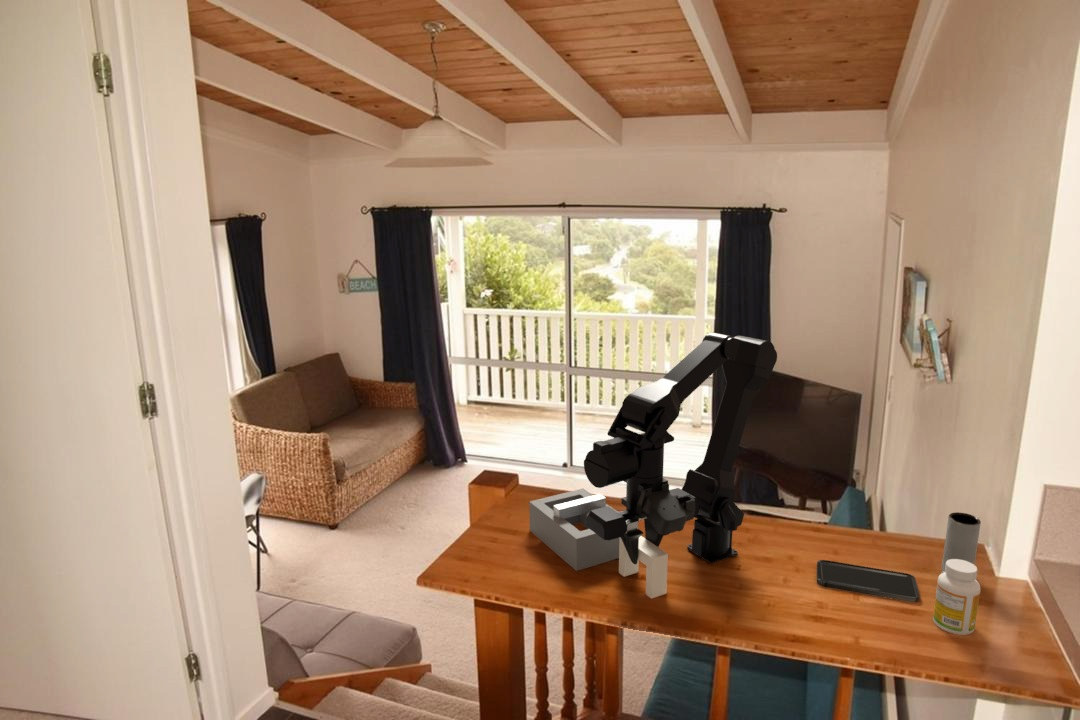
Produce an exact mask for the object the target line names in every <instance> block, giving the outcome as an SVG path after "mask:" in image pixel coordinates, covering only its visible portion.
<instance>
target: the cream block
mask: <svg viewBox="0 0 1080 720" xmlns="http://www.w3.org/2000/svg"><path fill="white" fill-rule="evenodd" d="M668 555H669V553H667V552H666V551H664V550H663V549H662V548H660V546H659V547H657V546H656V545H654V544H653V543H651V542H650V541H648V540H647V539H646V537H644V536H643V535H641V536H640V537H639V547H638V561H637V564H633V563H632V562H631V560H630V557H629V555H628V553H627V551H626V548H625V546H624V544H623V541H622V539H621V537H619V558H618V574H620V576H622V577H624V578H625V577H628V576H631V575H633V574H637V573H639V566H640V565H639V564H640V563H639V562H641V563H642V564H643V565H645V566H646V567H645V568H646V570H645V571H646V575H645V576H646V577H645V595H646V596H647V597H648V598H650V599H655V598H658V597H660V596H664V595H666V594H667V590H668V589H667V585H668V565H669V564H668V559H669V556H668Z"/></svg>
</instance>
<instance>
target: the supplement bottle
mask: <svg viewBox="0 0 1080 720" xmlns="http://www.w3.org/2000/svg"><path fill="white" fill-rule="evenodd" d="M977 577H978V567H977V566H976V565H974V564H972V563H970V562H967V561H964V560H960V559H950V560H947V561H946V564H945V572H944V573H942V572H941V573H940V574H939V575H938V578H937V583H936V592H935V599H934V606H933V615H932V620H933V623H934V624H935V625H936V626H937V627H938V628H939V629H941V630H943V631H946V632H948V633H950V634H953V635H960V636H965V635H970V634H972V633H973V632H974V631H975V628H976V622H977V615H978V608H979V602H980V596H981V585H980V583H979V581H977Z"/></svg>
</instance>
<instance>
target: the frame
mask: <svg viewBox="0 0 1080 720" xmlns="http://www.w3.org/2000/svg"><path fill="white" fill-rule="evenodd" d="M590 496H594V495H593V494H592V493H591V492H589V491H588V490H586V489H584V488H579V489H575V490H572V491H571V490H570V491H567V492H563V493H560V494H559V493H558V494H554V495H550V496H547V497H542V498H539V499H533V500H530V501H529V504H528V506H529V531H530V532H531V533H532V534H533V535H534V536H535V537H537V538H538V539H539V540H540V541H541V542H542V543H543V544H545V545H546V546H547V547H548V548H550V550H552V552H554V553H555V554H556V555H557V556H559V557H560V558H561V559H562V560H563V561H564V562H565V563H566V564H568V565H569V566H570V567H571V568H572V569H573V570H575V572H579V571H580V570H584V569H588V568H590V567H594V566H598V565H601V564H604V563H607V562H610V561H614V560H616V559H618V560H619V538H616V539H612V540H604V539H602V538H601V537H600V536H598V535H597V534H596V533H594V532H593V531H592V530H590V529H589V528H588V527H586V517H587V514H588V513H589V512H588V513H584V514H580V515H577V516H573V517H569V518H565V519H561V520H558V519H557V518H556V517H555V516H554V505H558V504H562V503H566V502H570V501H574V500H578V499H582V498H586V497H590ZM606 506H609V507H610V508H612V509H613V510H615V511H616V512H619V511H618V510H616V509H614V507H612V506H610V505H609V504H608V503H606ZM576 524H580V525H582V526H584V527H585V528H586V529H584V530H579V529H578V528H577V527H576V526H574V525H576Z"/></svg>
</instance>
